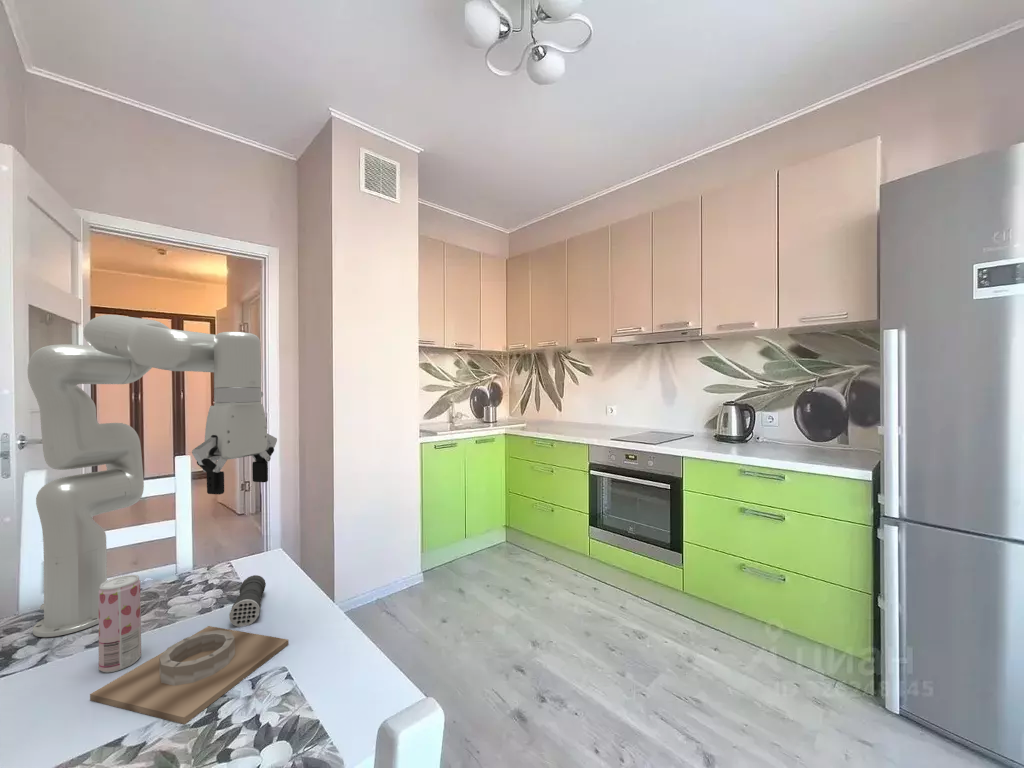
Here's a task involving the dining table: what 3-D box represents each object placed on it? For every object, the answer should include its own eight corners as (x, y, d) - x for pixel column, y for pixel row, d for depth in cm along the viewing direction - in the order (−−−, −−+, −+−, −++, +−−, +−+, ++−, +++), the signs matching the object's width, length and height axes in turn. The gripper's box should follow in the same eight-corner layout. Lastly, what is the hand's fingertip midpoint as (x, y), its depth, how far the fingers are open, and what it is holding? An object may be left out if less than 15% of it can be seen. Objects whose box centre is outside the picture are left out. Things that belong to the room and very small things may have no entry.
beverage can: (136, 649, 81) (135, 571, 81) (145, 660, 78) (144, 579, 78) (95, 665, 77) (94, 582, 77) (103, 678, 73) (102, 591, 73)
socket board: (90, 700, 68) (89, 675, 68) (208, 630, 87) (208, 611, 87) (184, 724, 63) (184, 697, 63) (288, 644, 82) (288, 624, 82)
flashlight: (240, 597, 102) (240, 575, 102) (266, 592, 104) (266, 570, 104) (229, 629, 88) (229, 603, 88) (259, 623, 90) (259, 597, 90)
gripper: (259, 396, 90) (260, 477, 90) (177, 399, 73) (178, 498, 73) (289, 396, 88) (290, 478, 88) (211, 398, 71) (212, 500, 71)
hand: (239, 487), depth 80 cm, fingers open, 9 cm apart
